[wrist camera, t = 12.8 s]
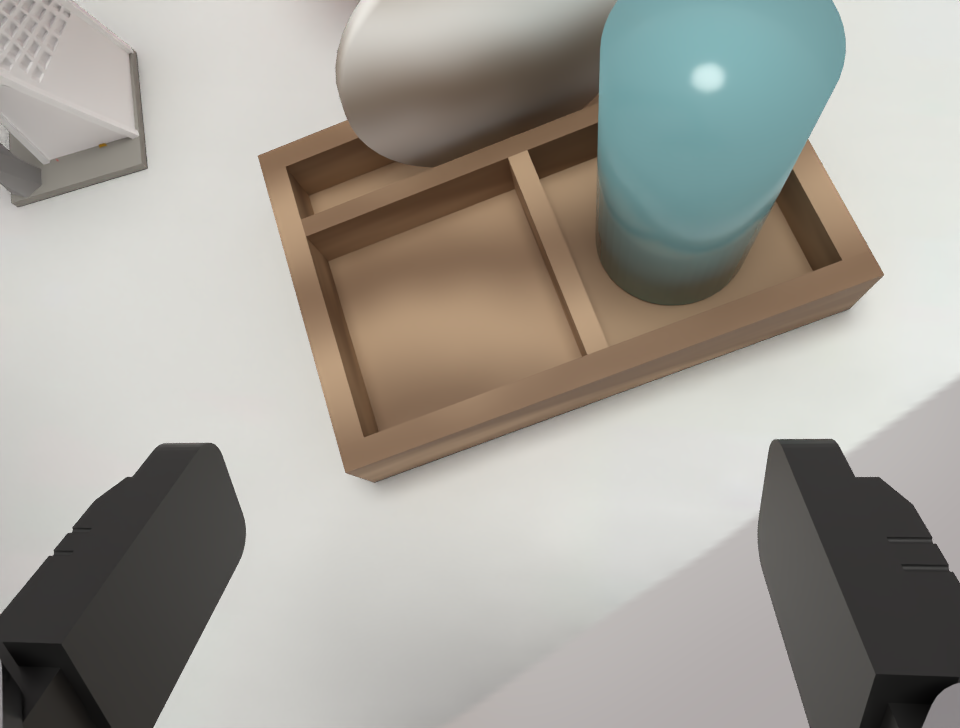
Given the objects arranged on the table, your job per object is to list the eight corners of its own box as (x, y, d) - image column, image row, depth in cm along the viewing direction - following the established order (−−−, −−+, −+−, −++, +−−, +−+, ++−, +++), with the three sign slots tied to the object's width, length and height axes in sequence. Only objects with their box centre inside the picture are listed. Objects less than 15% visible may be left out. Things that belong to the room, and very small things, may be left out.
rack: (292, 196, 33) (131, 6, 22) (702, 33, 32) (761, -258, 20) (374, 482, 29) (229, 434, 18) (849, 308, 28) (1026, 136, 16)
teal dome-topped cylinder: (573, 199, 30) (566, 1, 19) (710, 147, 29) (779, -84, 19) (629, 327, 28) (654, 184, 17) (775, 272, 28) (891, 93, 17)
